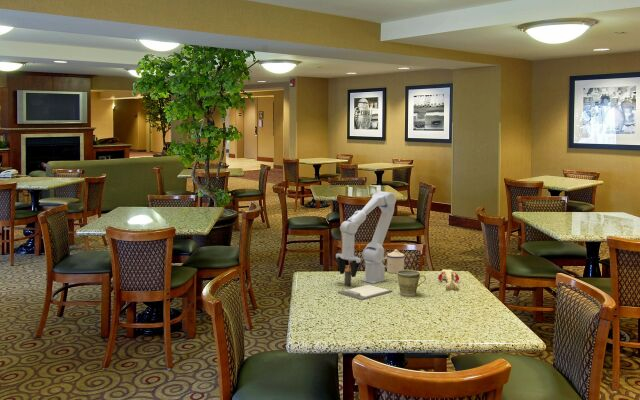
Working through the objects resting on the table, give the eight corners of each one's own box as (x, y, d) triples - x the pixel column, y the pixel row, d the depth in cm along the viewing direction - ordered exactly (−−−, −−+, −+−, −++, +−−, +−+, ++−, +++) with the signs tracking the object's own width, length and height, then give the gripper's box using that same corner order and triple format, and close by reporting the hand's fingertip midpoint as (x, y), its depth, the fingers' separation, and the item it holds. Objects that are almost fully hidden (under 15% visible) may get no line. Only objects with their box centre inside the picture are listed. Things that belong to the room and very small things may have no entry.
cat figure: (463, 293, 274) (456, 276, 299) (464, 275, 273) (456, 259, 297) (441, 293, 275) (436, 275, 300) (442, 275, 273) (436, 259, 298)
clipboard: (368, 285, 282) (368, 282, 282) (392, 291, 271) (392, 288, 271) (337, 293, 269) (337, 289, 269) (361, 300, 258) (362, 296, 258)
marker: (347, 284, 285) (348, 267, 284) (352, 285, 282) (352, 268, 281) (343, 285, 283) (343, 268, 282) (347, 286, 280) (348, 269, 279)
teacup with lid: (404, 270, 314) (405, 248, 312) (404, 274, 305) (404, 251, 303) (381, 269, 316) (381, 247, 314) (380, 273, 307) (380, 250, 305)
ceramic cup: (393, 295, 266) (394, 273, 265) (401, 290, 275) (401, 268, 273) (421, 299, 260) (422, 276, 259) (428, 293, 269) (429, 272, 267)
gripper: (331, 245, 283) (331, 273, 284) (353, 250, 272) (352, 279, 274) (342, 243, 288) (341, 271, 289) (364, 248, 277) (363, 277, 279)
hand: (347, 275), depth 282 cm, fingers open, 7 cm apart
